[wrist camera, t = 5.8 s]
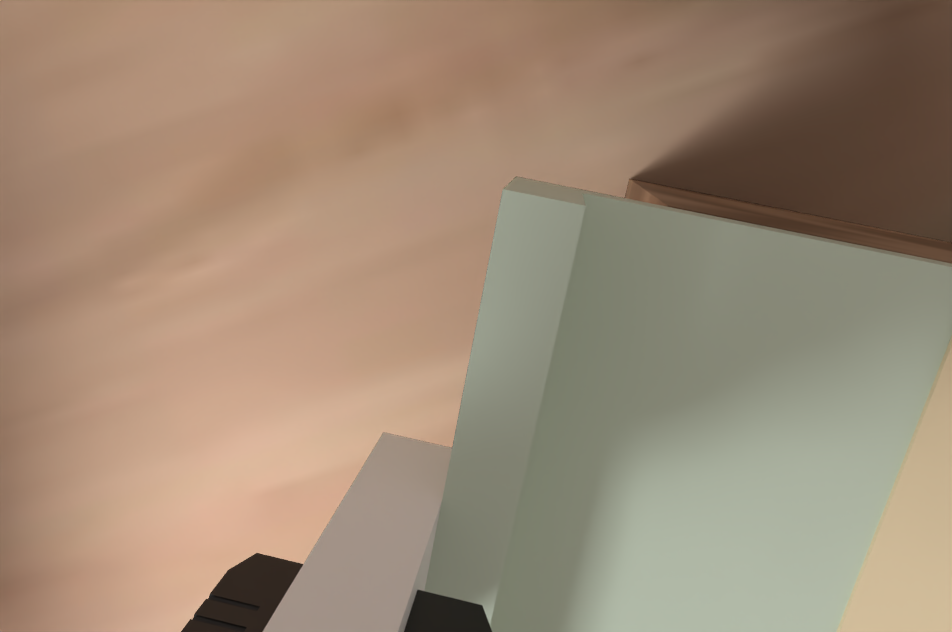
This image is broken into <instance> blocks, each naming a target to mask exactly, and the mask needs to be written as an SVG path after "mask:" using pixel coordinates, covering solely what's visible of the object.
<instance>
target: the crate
mask: <svg viewBox="0 0 952 632" xmlns="http://www.w3.org/2000/svg"><path fill="white" fill-rule="evenodd" d="M625 198H626V199H631V200H636V201H641V202H646V203H651V204H656V205H661V206H666V207H671V208H676V209H681V210H686V211H691V212H696V213H701V214H706V215H711V216H716V217H721V218H726V219H731V220H736V221H741V222H746V223H751V224H756V225H761V226H766V227H771V228H776V229H781V230H786V231H791V232H796V233H801V234H806V235H811V236H816V237H821V238H826V239H831V240H836V241H841V242H846V243H851V244H856V245H861V246H866V247H871V248H876V249H881V250H886V251H891V252H896V253H901V254H906V255H911V256H916V257H921V258H926V259H931V260H936V261H941V262H946V263H951V264H952V243H950V242H945V241H940V240H935V239H930V238H925V237H920V236H915V235H910V234H905V233H900V232H895V231H890V230H885V229H880V228H875V227H870V226H865V225H860V224H855V223H849V222H844V221H839V220H834V219H829V218H824V217H819V216H814V215H809V214H804V213H799V212H794V211H789V210H784V209H779V208H774V207H769V206H764V205H759V204H754V203H749V202H743V201H738V200H733V199H728V198H723V197H718V196H713V195H708V194H703V193H698V192H693V191H688V190H683V189H678V188H673V187H668V186H663V185H658V184H653V183H648V182H643V181H637V180H632V179H629V183H628V187H627V191H626V195H625Z"/></svg>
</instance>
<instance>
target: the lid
mask: <svg viewBox="0 0 952 632" xmlns="http://www.w3.org/2000/svg"><path fill="white" fill-rule="evenodd" d="M424 591H426V592H430V593H434V594H438V595H442V596H447V597H451V598H455V599H459V600H463V601H467V602H471V603H476V604H480V605H482V606H483V608H484V611H485V614H486V616H487V619H488V622H489V624H490V627H491V630H492V632H952V264H951V263H946V262H941V261H936V260H931V259H926V258H921V257H916V256H911V255H906V254H901V253H896V252H891V251H886V250H881V249H876V248H871V247H866V246H861V245H856V244H851V243H846V242H841V241H836V240H831V239H826V238H821V237H816V236H811V235H806V234H801V233H796V232H791V231H786V230H781V229H776V228H771V227H766V226H761V225H756V224H751V223H746V222H741V221H736V220H731V219H726V218H721V217H716V216H711V215H706V214H701V213H696V212H691V211H686V210H681V209H676V208H671V207H666V206H661V205H656V204H651V203H646V202H641V201H636V200H631V199H626V198H621V197H616V196H611V195H606V194H601V193H596V192H591V191H586V190H581V189H576V188H571V187H566V186H561V185H556V184H551V183H546V182H541V181H536V180H531V179H526V178H521V177H515V178H514V179H513V180H512V181H511V182H510V183H509V184H508V185H507V186H506V187H505V188H504V189H503V191H502V196H501V201H500V206H499V212H498V217H497V222H496V227H495V232H494V237H493V242H492V247H491V252H490V258H489V263H488V268H487V273H486V278H485V283H484V288H483V293H482V298H481V304H480V309H479V314H478V319H477V324H476V329H475V334H474V339H473V344H472V349H471V355H470V360H469V365H468V370H467V375H466V380H465V385H464V390H463V395H462V401H461V406H460V411H459V416H458V421H457V426H456V431H455V436H454V441H453V447H452V452H451V457H450V462H449V467H448V472H447V477H446V482H445V487H444V493H443V498H442V503H441V508H440V513H439V518H438V523H437V528H436V533H435V539H434V544H433V549H432V554H431V559H430V564H429V569H428V575H427V580H426V585H425V590H424Z"/></svg>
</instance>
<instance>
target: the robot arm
mask: <svg viewBox="0 0 952 632" xmlns="http://www.w3.org/2000/svg"><path fill="white" fill-rule="evenodd" d="M451 452H452V448H451V447H446V446H442V445H438V444H433V443H429V442H424V441H420V440H416V439H411V438H407V437H402V436H398V435H393V434H389V433H385V432H383V434H382V435H381V437H380V439H379V440H378V442H377V444H376V445H375V447H374V449H373V450H372V452H371V454H370V455H369V457H368V459H367V460H366V462H365V463H364V465H363V467H362V468H361V470H360V472H359V473H358V475H357V477H356V478H355V480H354V482H353V483H352V485H351V487H350V488H349V490H348V492H347V493H346V495H345V496H344V498H343V500H342V501H341V503H340V505H339V506H338V508H337V510H336V511H335V513H334V515H333V516H332V518H331V520H330V521H329V523H328V525H327V526H326V528H325V529H324V531H323V533H322V534H321V536H320V538H319V539H318V541H317V543H316V544H315V546H314V548H313V549H312V551H311V553H310V554H309V556H308V558H307V559H306V561H305V563H304V564H300V563H296V562H292V561H288V560H284V559H279V558H275V557H271V556H267V555H263V554H259V553H256V554H254V555H253V556H251V557H249V558H248V559H246V560H244V561H243V562H241V563H239V564H238V565H236V566H234V567H233V568H231V569H229V570H228V571H227V573H226V574H225V575H224V576H223V578H222V579H221V580H220V582H219V583H218V584H217V586H216V587H215V588H214V589H213V591H212V592H211V593H210V596H209V598H208V599H206V600H205V601H204V602H203V604H202V605H201V606H200V608H199V609H198V610H197V612H196V613H195V614H194V618H193V620H191V619H190V621H189V622H188V623H187V625H186V626H185V627H184V628H183V630H182V631H181V632H492V630H491V627H490V624H489V622H488V619H487V616H486V614H485V611H484V608H483V606H482V605H480V604H476V603H471V602H467V601H463V600H459V599H455V598H451V597H447V596H442V595H438V594H434V593H430V592H426V591H424V590H425V585H426V580H427V575H428V569H429V564H430V559H431V554H432V549H433V544H434V539H435V533H436V528H437V523H438V518H439V513H440V508H441V503H442V498H443V493H444V487H445V482H446V477H447V472H448V467H449V462H450V457H451Z"/></svg>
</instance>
